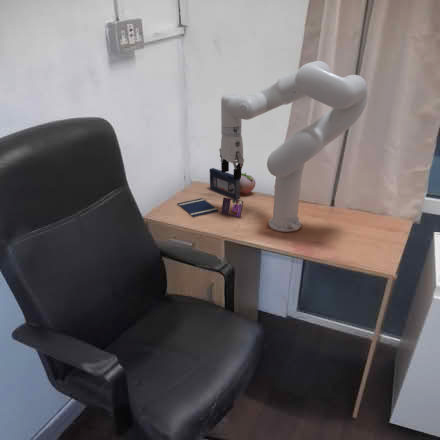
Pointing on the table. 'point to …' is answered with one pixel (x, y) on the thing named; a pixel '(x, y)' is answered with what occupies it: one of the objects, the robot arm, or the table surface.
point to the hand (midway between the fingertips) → (231, 175)
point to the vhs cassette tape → (224, 183)
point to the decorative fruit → (246, 183)
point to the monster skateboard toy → (235, 207)
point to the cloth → (197, 207)
